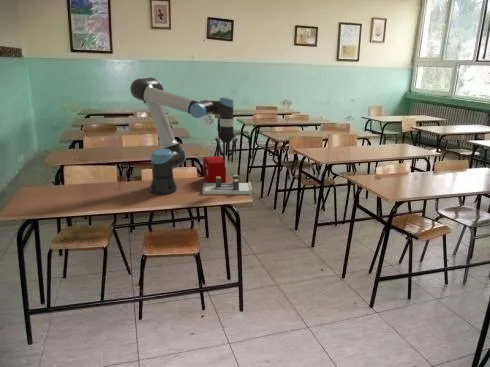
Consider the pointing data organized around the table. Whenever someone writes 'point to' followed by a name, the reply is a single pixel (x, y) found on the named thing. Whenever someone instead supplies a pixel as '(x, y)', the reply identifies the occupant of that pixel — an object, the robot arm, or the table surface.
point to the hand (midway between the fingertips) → (226, 166)
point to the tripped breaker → (218, 181)
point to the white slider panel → (228, 187)
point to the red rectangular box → (214, 169)
